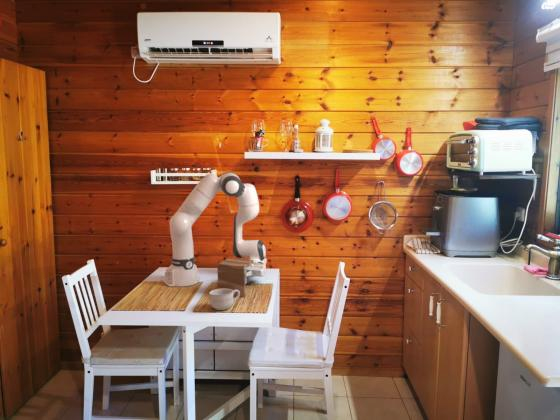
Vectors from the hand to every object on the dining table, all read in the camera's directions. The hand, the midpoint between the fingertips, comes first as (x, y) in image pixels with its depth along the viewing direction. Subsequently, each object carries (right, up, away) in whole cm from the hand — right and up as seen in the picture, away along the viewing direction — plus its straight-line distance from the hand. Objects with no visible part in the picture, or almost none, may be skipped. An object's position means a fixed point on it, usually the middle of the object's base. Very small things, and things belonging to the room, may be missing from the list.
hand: (240, 274), depth 228 cm
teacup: (-5, -11, -26) cm, 29 cm away
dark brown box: (-2, -8, -5) cm, 10 cm away
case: (-1, -6, -2) cm, 6 cm away
